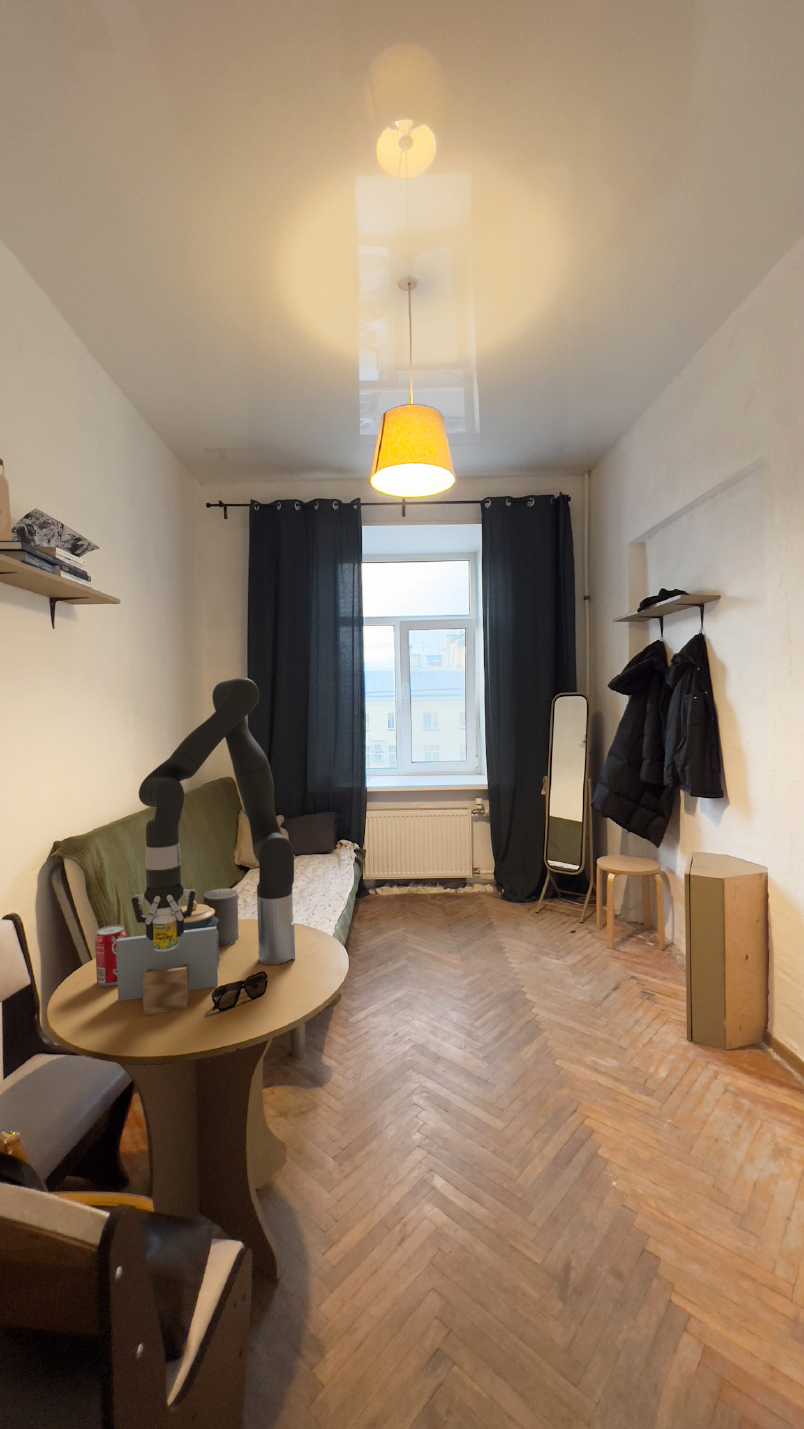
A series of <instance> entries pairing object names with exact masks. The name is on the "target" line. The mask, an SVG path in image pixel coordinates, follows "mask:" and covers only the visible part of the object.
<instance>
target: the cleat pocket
mask: <svg viewBox="0 0 804 1429" xmlns="http://www.w3.org/2000/svg"><path fill="white" fill-rule="evenodd" d="M189 995H190V990H189V966H188V964H184V967H182V968H175V969H168V970H160V971H153V972H152V969H148V970H147V972H146V973H143V998H142V999H143V1016H149V1015H156V1014H162V1013H166V1012H167V1013H168V1012H173V1011H181V1010H186V1009H187V1010H188V1006H189V997H190V996H189Z"/></svg>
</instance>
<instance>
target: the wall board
mask: <svg viewBox="0 0 804 1429" xmlns="http://www.w3.org/2000/svg"><path fill="white" fill-rule="evenodd" d="M116 950H117V979H118V985H117V998H118V999H117V1001H118V1002H122V1001H123V1002H124V1001H129V1000H136V999H143V973H146V972H147V970H148V969H152V972H153V971H160V970H168V969H175V968H182V967H184V964H188V966H189V991H195V990H202V989H208V988H215V987H219V981H218V980H219V977H218V976H219V975H218V967H217V941H216V927H208V928H200V929H192V930H184V933H183V934H181V937H178V946H177V947H176V948H175V949H173V950H170V951H166V952H158V951H155V950H154V948H153V940H149V938H147V937H146V934H145V935H138V936H137V935H135V936H129V937H128V936H127V938H120V939H117V940H116Z"/></svg>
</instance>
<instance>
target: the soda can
mask: <svg viewBox="0 0 804 1429" xmlns="http://www.w3.org/2000/svg"><path fill="white" fill-rule="evenodd" d="M127 935H128V934H127V931H126V930H125V926H124V925H122V924H114V925H108V926H104V927H101V928H99V929H98V930H96V935H95V939H94V941H95V942H94V947H95V948H94V949H95V968H96V982H97V983H98V984H99V986H101V987H113V986H118V979H117V950H116V940H117V939H120V938H128V936H127Z"/></svg>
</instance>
